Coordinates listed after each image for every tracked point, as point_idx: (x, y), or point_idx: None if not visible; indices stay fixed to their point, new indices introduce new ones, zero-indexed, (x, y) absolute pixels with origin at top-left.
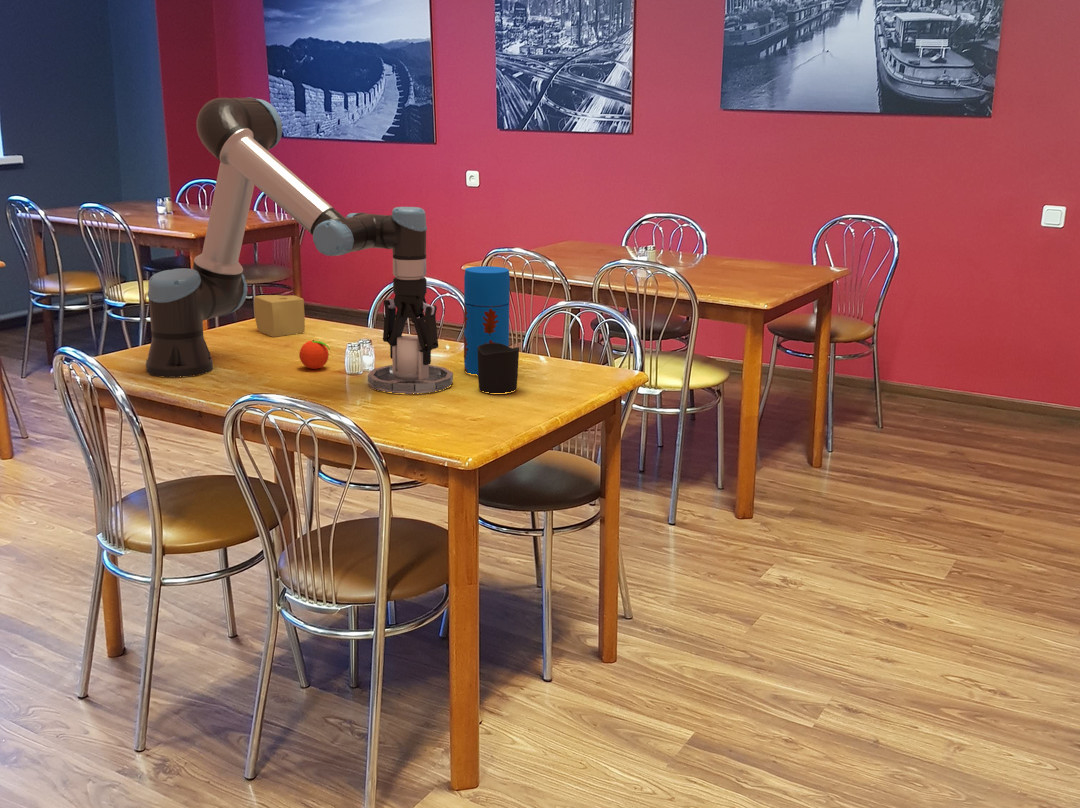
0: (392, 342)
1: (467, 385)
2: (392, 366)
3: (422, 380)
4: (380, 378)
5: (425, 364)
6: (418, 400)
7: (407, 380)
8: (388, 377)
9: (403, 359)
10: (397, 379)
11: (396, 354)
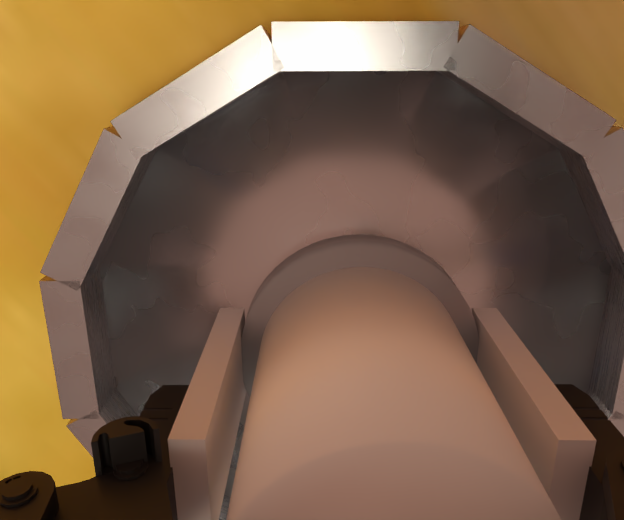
0: (619, 476)
1: (68, 484)
2: None
3: None
4: (564, 249)
5: (172, 388)
6: (10, 18)
7: None
8: (530, 301)
9: (353, 319)
10: None
11: (520, 409)
